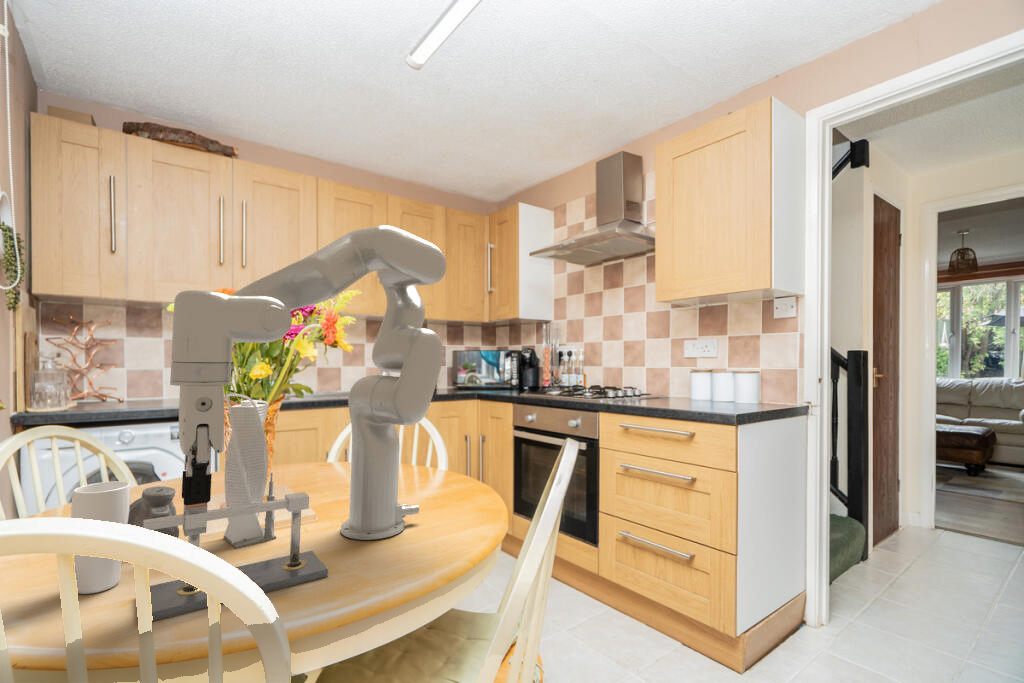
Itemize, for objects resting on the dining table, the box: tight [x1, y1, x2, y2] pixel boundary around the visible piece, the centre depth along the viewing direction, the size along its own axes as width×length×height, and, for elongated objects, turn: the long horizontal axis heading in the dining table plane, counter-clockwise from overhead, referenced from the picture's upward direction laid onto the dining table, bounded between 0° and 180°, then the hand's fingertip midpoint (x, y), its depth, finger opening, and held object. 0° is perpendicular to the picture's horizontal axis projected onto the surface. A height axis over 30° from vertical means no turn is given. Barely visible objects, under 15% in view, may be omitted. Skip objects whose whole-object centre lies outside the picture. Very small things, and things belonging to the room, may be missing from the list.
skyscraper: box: [223, 393, 277, 549], centre depth 92 cm, size 8×8×28 cm
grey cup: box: [70, 480, 131, 595], centre depth 72 cm, size 7×7×15 cm
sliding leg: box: [182, 462, 208, 585], centre depth 70 cm, size 3×4×18 cm
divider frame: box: [143, 491, 310, 565], centre depth 73 cm, size 22×3×11 cm, turn 128°
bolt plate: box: [149, 550, 329, 622], centre depth 73 cm, size 24×9×1 cm, turn 128°
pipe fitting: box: [128, 485, 180, 538], centre depth 88 cm, size 12×8×10 cm, turn 44°
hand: (195, 499), depth 70 cm, fingers closed on sliding leg, 3 cm apart
